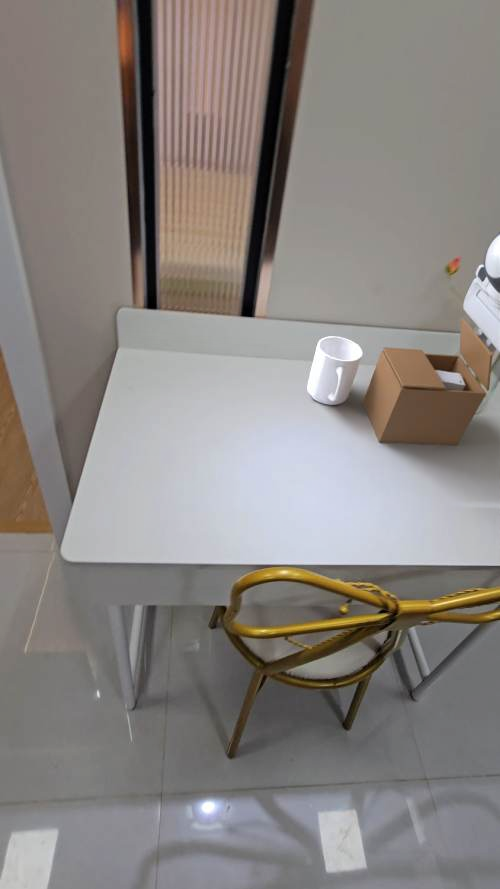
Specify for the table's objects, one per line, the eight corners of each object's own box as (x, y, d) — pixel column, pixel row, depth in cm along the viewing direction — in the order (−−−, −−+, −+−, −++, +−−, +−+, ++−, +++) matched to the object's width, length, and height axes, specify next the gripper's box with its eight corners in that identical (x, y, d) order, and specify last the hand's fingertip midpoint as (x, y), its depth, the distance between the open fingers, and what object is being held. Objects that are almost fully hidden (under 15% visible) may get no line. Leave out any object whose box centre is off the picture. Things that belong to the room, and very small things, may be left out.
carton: (434, 406, 108) (460, 352, 98) (456, 445, 98) (488, 390, 89) (362, 402, 105) (382, 347, 96) (379, 442, 96) (403, 385, 86)
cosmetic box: (438, 418, 104) (461, 373, 95) (442, 431, 100) (466, 385, 92) (411, 414, 104) (431, 368, 95) (414, 426, 100) (436, 380, 92)
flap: (459, 353, 98) (461, 352, 98) (486, 390, 89) (489, 390, 89) (460, 318, 92) (462, 317, 92) (490, 354, 83) (492, 354, 83)
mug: (338, 379, 111) (351, 335, 103) (359, 412, 103) (375, 367, 95) (300, 381, 108) (311, 336, 100) (318, 415, 100) (332, 369, 92)
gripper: (565, 318, 75) (521, 389, 84) (505, 264, 89) (473, 329, 99) (529, 315, 74) (488, 387, 83) (474, 261, 89) (445, 327, 98)
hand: (479, 355), depth 91 cm, fingers closed, pressing on flap
